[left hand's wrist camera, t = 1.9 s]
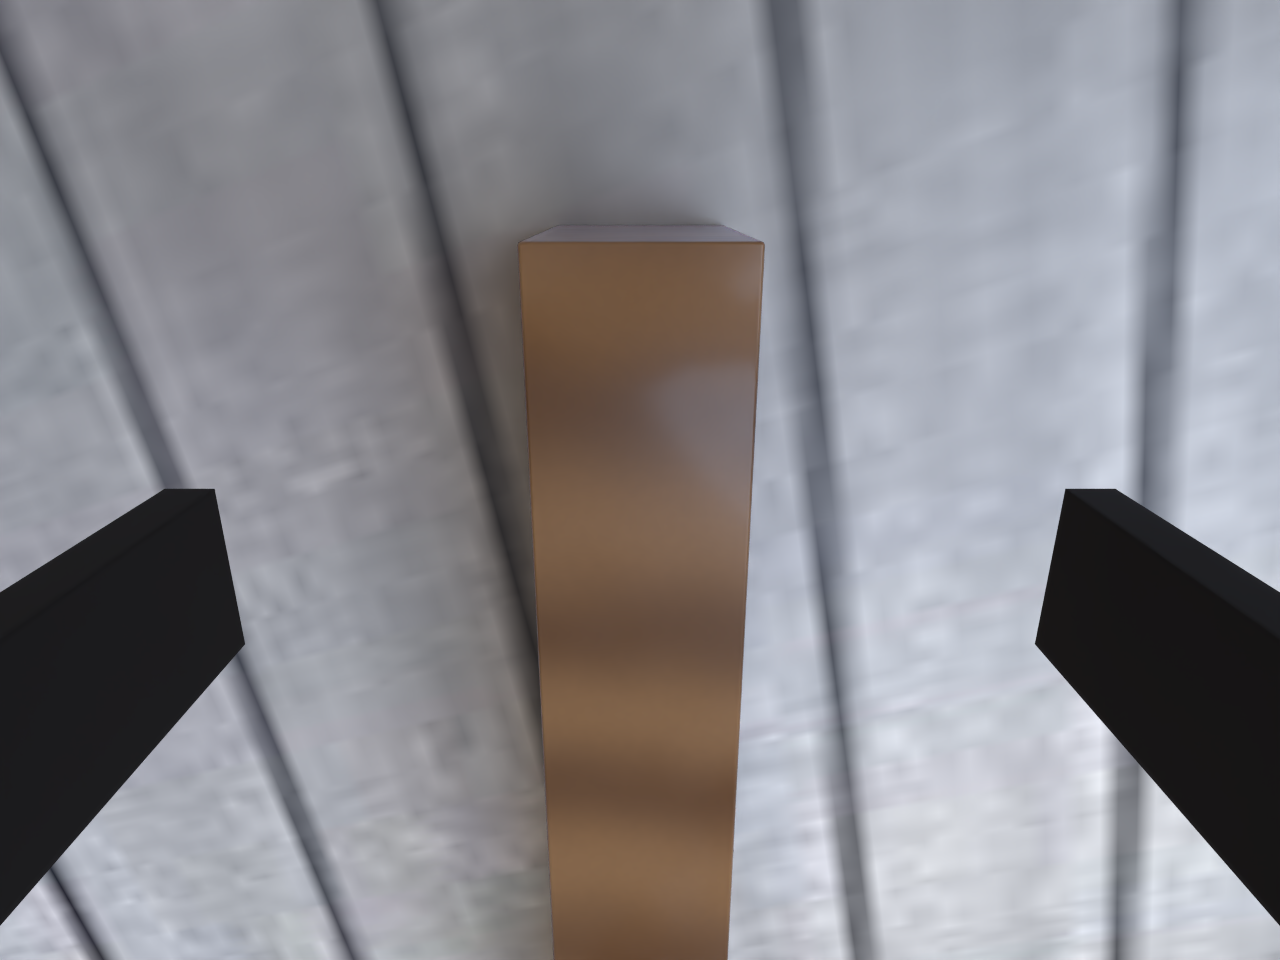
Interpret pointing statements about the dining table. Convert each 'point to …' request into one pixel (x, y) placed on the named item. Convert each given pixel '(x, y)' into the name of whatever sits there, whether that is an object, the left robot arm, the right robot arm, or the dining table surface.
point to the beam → (640, 572)
